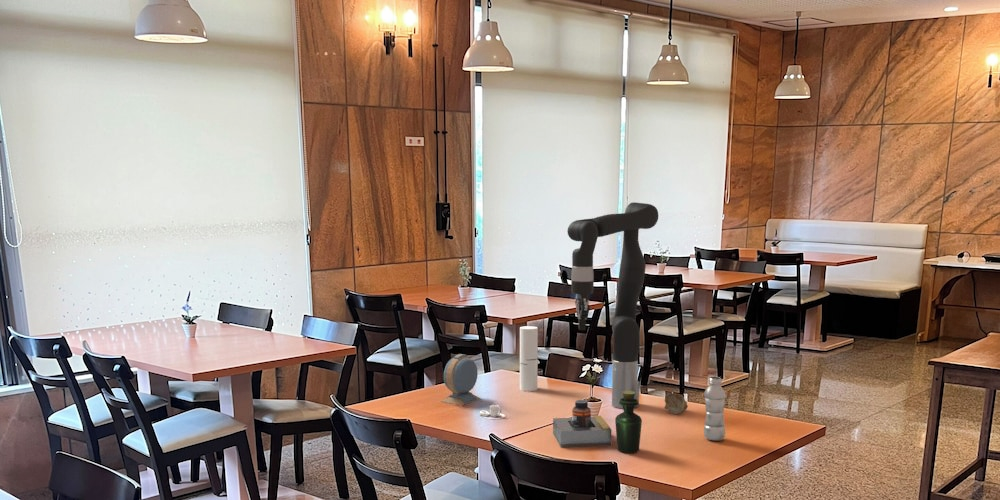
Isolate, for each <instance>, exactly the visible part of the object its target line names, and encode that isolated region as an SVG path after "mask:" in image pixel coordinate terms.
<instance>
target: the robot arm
mask: <svg viewBox="0 0 1000 500" xmlns="http://www.w3.org/2000/svg"><path fill="white" fill-rule="evenodd" d="M658 220H659V210H658V209H657V207H656V206H655V205H653V204H650V203H645V202H635V201H633V202H630V203H629V204H627V207H626V208H625V212H623V213H622V212H621V213H609V214H604V215H600V216H597V217H594V218H593V217H592V218H584V219H576V220H574V221H572V222H571V223H570V224H569V225H568V227H567V231H566V232H567V236H568V237H569V238H570V240H572V241H574V242H581V243H580V247H579V248H575V249H574V250H573V251H572V255H571V258H572V259H571V260H572V264H571V265H572V266H571V273H570V274H571V280H570V281H571V285H570V286H571V288H570V289H571V290H570V291H571V294H574V295H576V298H575V302H574V304H575V310H576V316H577V319H578V330H579V331H586V329H587V328H586V324H587V323H586V322H587V319H588V318H589V313H590V309H591V305H590V299H589V297H588V295H591V294H593V293H594V286H595V285H594V282H595V281H594V279H595V278H594V277H595V276H594V275H595V274H594V264H593V263H594V253H595V252H594V251H595V250H596V249H595V248H596V244H597V241H598V238H602V237H605V236H610V235H613V234H616V233H621V232H623V237H622V238H623V241H622V242H623V243H622V252H621V259H620V264H619V265H620V266H619V272H618V283H617V285H618V286H617V302H616V308H615V312H614V315H613V316H614V317H613V320H612V323H611V331H612V334H613V350H612V362H611V363H612V365H611V366H612V367H611V370H612V373H611V381H612V382H611V406H612V407H615V408H618V409H623V406H622V405H621V404H619V402H620V399H621V398H624V397H623V391H633V392H635V396H634V399H637V401H638V405H636V406H635V408H639V407H640V403H639V402H640V381H639V380H638V370H639V369H638V368H639V367H638V365H639V364H638V363H639V361H638V360H639V359H638V358H639V349H640V327H639V324H638V323H637V320H636V319H637V306H638V301H639V299H640V295H641V293H642V289H643V285H644V281H645V276H646V266H647V265H646V260H645V257H644V255H643V252H642V249H641V246H640V243H639V231H640V229H642V230H650V229H652V228H653V227H655V226H656V225H657V224H658Z"/></svg>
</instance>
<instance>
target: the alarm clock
mask: <svg viewBox="0 0 1000 500" xmlns="http://www.w3.org/2000/svg"><path fill="white" fill-rule="evenodd" d="M478 374H479V373H478V367H477V364H476V363H475V362H474V360H473V359H471V358H470V357H469V356H468V355H467V354H462V353H458V354H456V355H455V356H454V357H452V358H450V359H449V360H448V361H447V363H446V365H445V368H444V371H443V382H444V385H445V387H446V388H447V389H448V390H449V391H451V392H452V393H451V394H449V396H446V398H444V399H442V400H441V401H440V402H441V403H445V404H449V405H450V404H451V405H454V404H455V406H459V405H462V406H465V405H467V404H470V403H473V402H475V401H476V402H477V401H479V400H481V397H479V396H478V395H475V394H473V393H472V392H470V391H471V390H472V389H474V387H475V385H476V383H477V380H478ZM464 404H465V405H464Z"/></svg>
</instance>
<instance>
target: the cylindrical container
mask: <svg viewBox="0 0 1000 500" xmlns="http://www.w3.org/2000/svg"><path fill="white" fill-rule="evenodd" d="M538 328H539V327H537V326H531V325H525V326H520V327H519V390H520V391H523V392H535V390H536V391H537V390H538V376H539V375H538V360H539V359H538V353H539V352H538V349H539V348H538V345H539V344H538V343H539V341H538V340H539V339H538V338H539V336H538V335H539V334H538V332H539V331H538Z"/></svg>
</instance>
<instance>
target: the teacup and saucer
mask: <svg viewBox="0 0 1000 500" xmlns="http://www.w3.org/2000/svg"><path fill="white" fill-rule="evenodd" d="M499 409H500V411H499ZM479 415H480V416H481V417H482V418H484V419H485V420H486V419H487V420H493V418H495V420H501V419H504V418H506V415H505V414H504V413H502V408H501V407H500V406H499V405H498V404H491V405H489V411H487V410H480V411H479ZM489 416H490V417H491V418H490V417H489ZM498 416H501V417H498ZM497 417H498V418H497Z"/></svg>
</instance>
